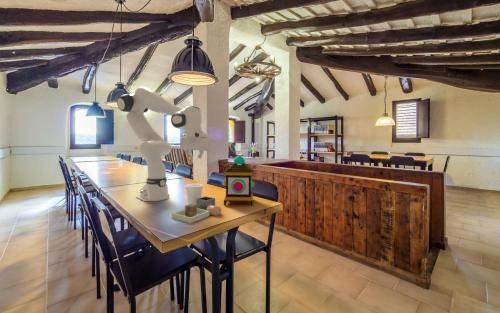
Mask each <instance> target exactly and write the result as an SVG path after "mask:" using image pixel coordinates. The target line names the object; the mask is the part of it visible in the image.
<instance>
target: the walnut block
mask: <svg viewBox="0 0 500 313" xmlns="http://www.w3.org/2000/svg"><path fill="white" fill-rule="evenodd" d="M184 209H185V216H186V217H190V218H191V217H193V216H196V215H197V205H195V204H189V203H188V204H186V205H184Z"/></svg>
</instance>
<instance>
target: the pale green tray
mask: <svg viewBox="0 0 500 313" xmlns="http://www.w3.org/2000/svg"><path fill="white" fill-rule="evenodd" d="M210 216H211V215H210V211H207V210H202V209H198V208H197V215H196V216H193V217H191V218H190V217H186V216H185V208H184V209H181V210H178V211H175V212H172V213H171V218H172V219H174V220H178V221H182V222H185V223H189V224H193V223H195V222H198V221H199V220H203V219H205V218H207V217H208V218H209V217H210Z"/></svg>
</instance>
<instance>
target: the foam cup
mask: <svg viewBox="0 0 500 313" xmlns="http://www.w3.org/2000/svg"><path fill="white" fill-rule="evenodd" d="M185 188H186V189H185V190H186V195H187V203H188V205H189V204H195V205H197V199H198V198H202V194H203V184H202V183H190V184H186V186H185Z"/></svg>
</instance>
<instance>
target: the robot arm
mask: <svg viewBox="0 0 500 313" xmlns="http://www.w3.org/2000/svg"><path fill="white" fill-rule="evenodd" d="M116 104H117V107H118V109H119V110H120V111H121V112H125V113H126V120H127V122H128V124H129V126H130V127H131V129H132V131H133V132H134V134H135V135H136V136H137V138H138V139H139V141H141V142H142V143H141V144H140V146H139V153H140V155H141V156H143V157H144V159H145V163H146V167H147V178H146V182H145V184H144V185H143V186H142V187H141V188H140V191H139V192H140V194H138V195H136V198H137V199H139V200H141V201H143V202H158V201H165V200H167V199H169V198H170V194H169V188H168V187H169V186H168V184H167V181H168V180H167V174H166V169H167V168H166V165H165V163H164V162H163V159H162V157H165V156H167V155H169V154H170V153H171V151H172V146H171V143H170V142H168V141H166V140H165V139H164V138H163V137H162V136H161V135H160V134H158V132H156V130H155V129H154V128H153V126H152V125H151V123H150V122H149V121H148V119H147V118H146V116H145V113H147V112H148V111H152V112H155V113H159V114H166V115H169V116H171V117H170V121H171V125H172V127H173V128H176V129H180V130H181V129H182V130H185V134H184V133H183V134H182V135H181V138H180V143H179V144H180V145H179V148H180V151H181V150H183V151H184V153H185V154H186V158H189V159H191V154H190V151H198V153H199V154H198V155H197V159H202V158H203V154H204V152H205V151H209V148H210V142H209V133H207V132H205V131H202V112H201V109H200V107H197V106H194V105H186V106H185V108H183V109H180V108H179V107H177V106H176V105H174V104H172V103H171V102H170V101H168V100H167V99H165V98H164V97H162V96H161V95H159V93H157V92H156V91H154V90H152V89H150V88H148V87H146V86H140V87H137V88H136V89H135V91H134V93H128V94H122V95H120V96H118V98H117V99H116Z"/></svg>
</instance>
